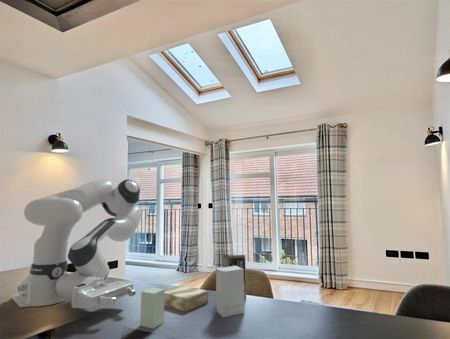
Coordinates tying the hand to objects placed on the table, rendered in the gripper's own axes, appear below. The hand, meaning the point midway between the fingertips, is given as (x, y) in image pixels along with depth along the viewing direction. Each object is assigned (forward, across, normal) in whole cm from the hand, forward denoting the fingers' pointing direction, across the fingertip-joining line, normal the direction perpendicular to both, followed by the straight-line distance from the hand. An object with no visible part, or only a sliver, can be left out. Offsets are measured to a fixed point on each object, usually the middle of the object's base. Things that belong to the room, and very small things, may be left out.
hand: (124, 297), depth 97 cm
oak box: (+11, -20, -6) cm, 23 cm away
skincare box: (+30, -18, -6) cm, 36 cm away
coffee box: (+26, -32, -5) cm, 42 cm away
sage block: (+12, 0, -6) cm, 13 cm away
